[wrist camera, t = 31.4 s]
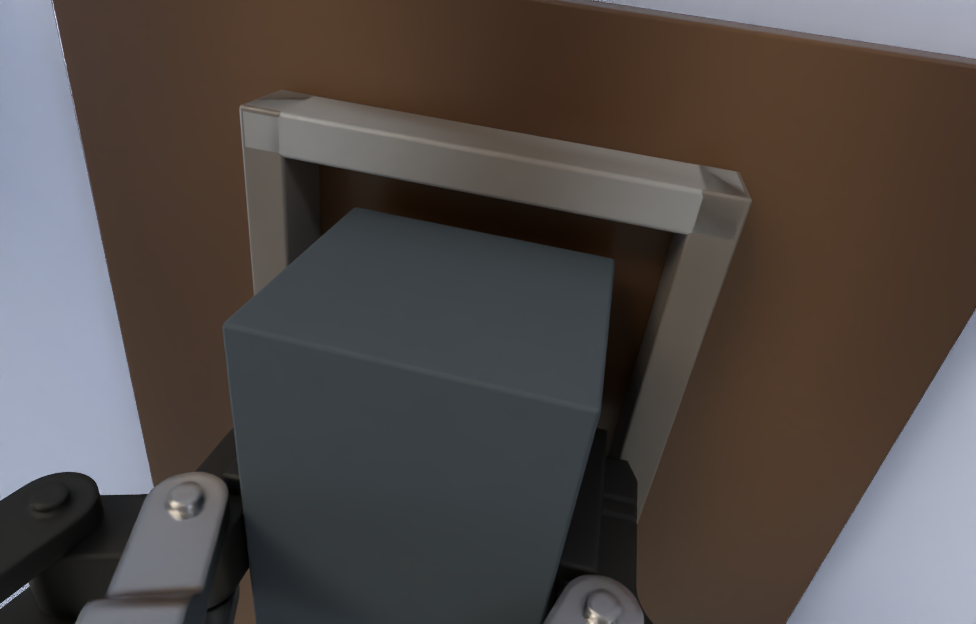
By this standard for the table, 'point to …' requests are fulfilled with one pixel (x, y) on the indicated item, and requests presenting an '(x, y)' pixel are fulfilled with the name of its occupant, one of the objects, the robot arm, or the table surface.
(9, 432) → the table surface
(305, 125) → the mount board
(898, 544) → the table surface
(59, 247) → the table surface
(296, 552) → the pad
